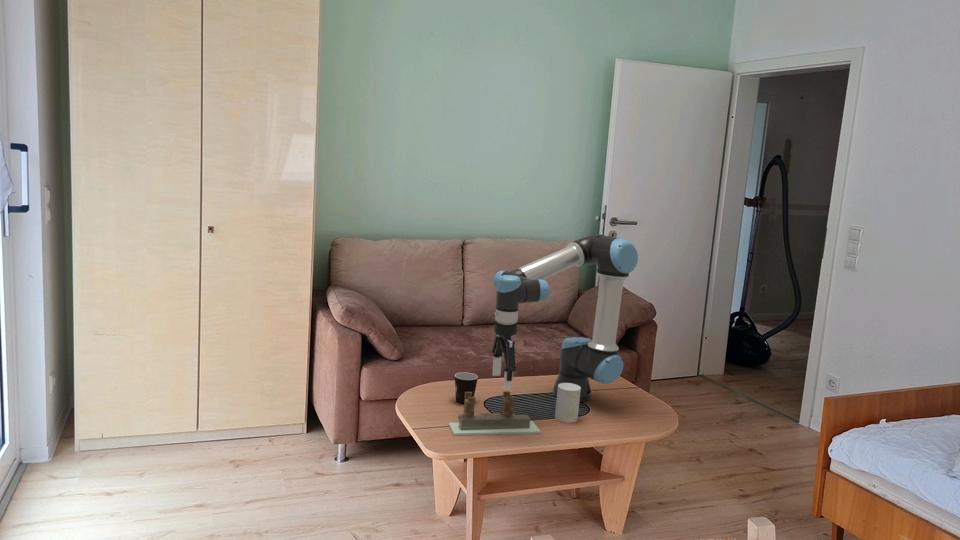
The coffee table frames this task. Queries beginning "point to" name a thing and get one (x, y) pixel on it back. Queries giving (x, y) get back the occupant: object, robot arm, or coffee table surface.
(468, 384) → the coffee mug
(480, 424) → the rail
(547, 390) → the coffee table surface
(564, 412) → the light grey cylinder plug
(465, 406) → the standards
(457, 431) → the mat
